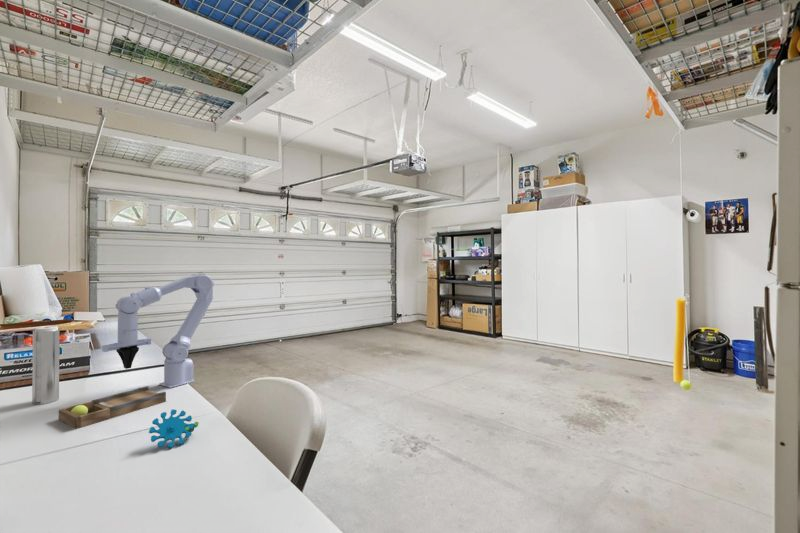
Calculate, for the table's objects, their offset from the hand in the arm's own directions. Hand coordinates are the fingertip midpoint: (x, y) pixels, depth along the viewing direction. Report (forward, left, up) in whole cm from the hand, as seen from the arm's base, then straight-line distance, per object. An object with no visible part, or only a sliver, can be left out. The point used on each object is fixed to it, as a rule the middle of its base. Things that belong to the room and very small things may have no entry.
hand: (127, 367), depth 130 cm
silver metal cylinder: (+17, -16, -10) cm, 25 cm away
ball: (+18, +12, -7) cm, 23 cm away
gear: (+12, +50, -10) cm, 53 cm away
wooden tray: (+9, +13, -9) cm, 18 cm away
